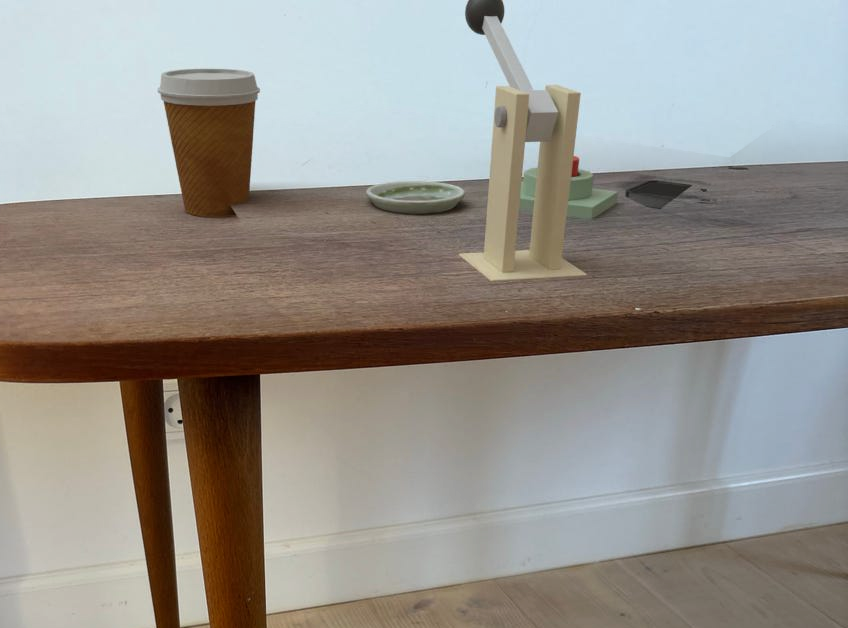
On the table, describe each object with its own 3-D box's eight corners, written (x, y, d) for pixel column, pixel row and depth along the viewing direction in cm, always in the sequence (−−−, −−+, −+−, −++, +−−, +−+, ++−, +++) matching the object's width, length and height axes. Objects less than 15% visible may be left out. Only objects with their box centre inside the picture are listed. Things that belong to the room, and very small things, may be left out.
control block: (615, 214, 105) (621, 171, 103) (590, 231, 99) (596, 186, 97) (521, 203, 109) (525, 161, 107) (492, 218, 103) (495, 174, 101)
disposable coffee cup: (282, 206, 106) (278, 72, 100) (229, 225, 99) (221, 82, 92) (204, 195, 110) (195, 65, 103) (148, 213, 103) (134, 75, 96)
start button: (582, 175, 103) (584, 156, 102) (570, 182, 100) (572, 162, 99) (547, 171, 104) (549, 152, 103) (534, 178, 102) (536, 158, 101)
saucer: (407, 200, 109) (408, 175, 108) (483, 215, 104) (485, 189, 103) (345, 216, 103) (345, 189, 102) (422, 232, 98) (423, 205, 97)
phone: (767, 211, 102) (622, 190, 109) (764, 224, 102) (620, 202, 109) (791, 197, 107) (651, 178, 114) (788, 209, 108) (650, 189, 115)
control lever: (457, 21, 88) (464, -19, 85) (493, 21, 88) (502, -19, 86) (515, 147, 79) (525, 107, 77) (554, 146, 80) (566, 106, 77)
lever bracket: (458, 268, 88) (469, 83, 80) (547, 263, 90) (566, 81, 82) (490, 295, 82) (506, 97, 74) (585, 289, 83) (610, 95, 76)
